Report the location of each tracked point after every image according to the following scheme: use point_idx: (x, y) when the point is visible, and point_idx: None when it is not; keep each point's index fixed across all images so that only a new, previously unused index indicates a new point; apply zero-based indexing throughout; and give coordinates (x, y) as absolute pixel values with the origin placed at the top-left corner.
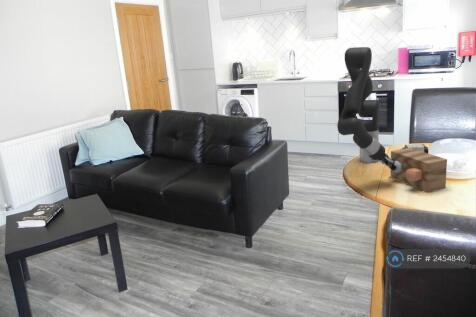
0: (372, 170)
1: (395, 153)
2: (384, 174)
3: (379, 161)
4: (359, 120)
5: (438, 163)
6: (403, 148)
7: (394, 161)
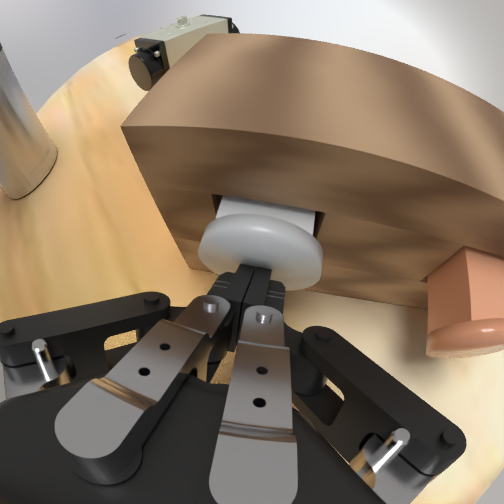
0: (65, 246)
1: (197, 134)
2: (136, 253)
3: (110, 367)
4: None
5: None
6: (140, 55)
7: (403, 389)
